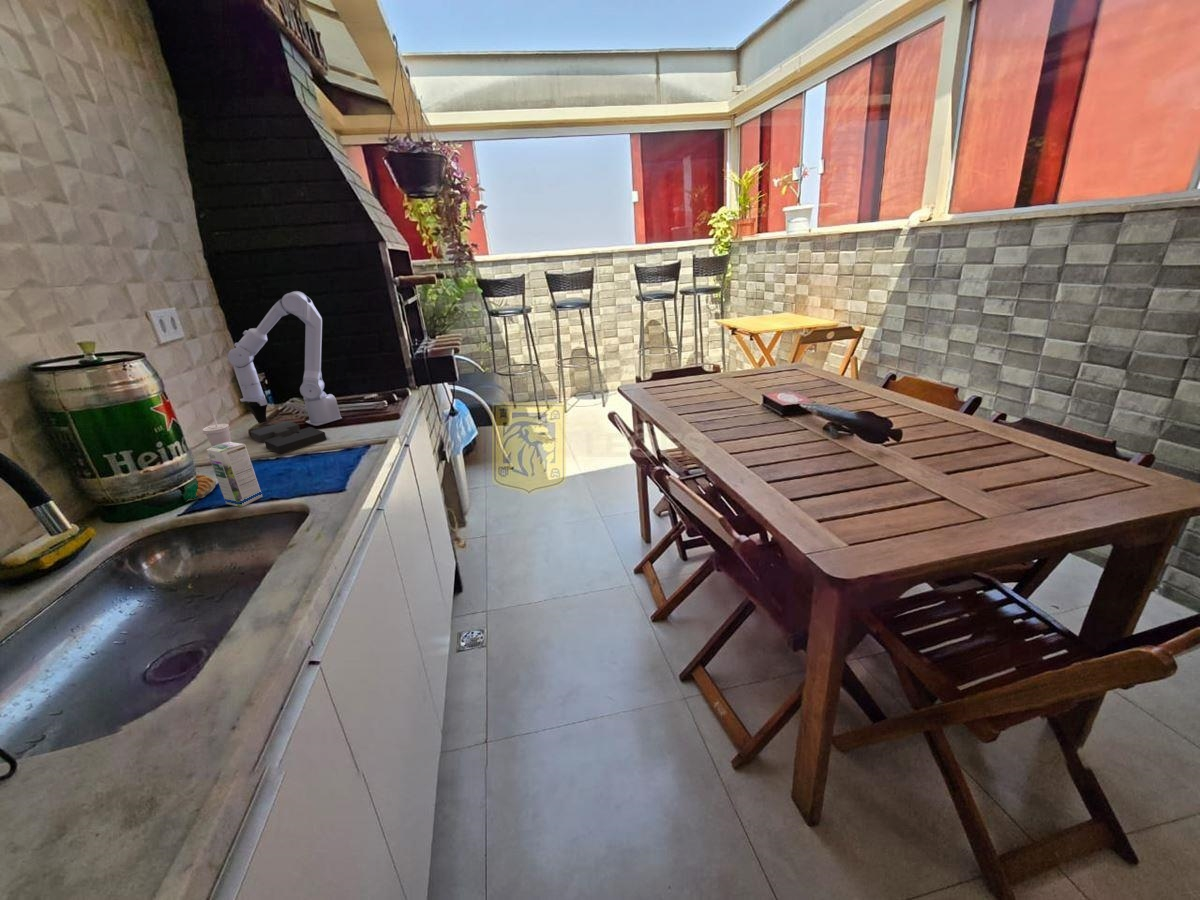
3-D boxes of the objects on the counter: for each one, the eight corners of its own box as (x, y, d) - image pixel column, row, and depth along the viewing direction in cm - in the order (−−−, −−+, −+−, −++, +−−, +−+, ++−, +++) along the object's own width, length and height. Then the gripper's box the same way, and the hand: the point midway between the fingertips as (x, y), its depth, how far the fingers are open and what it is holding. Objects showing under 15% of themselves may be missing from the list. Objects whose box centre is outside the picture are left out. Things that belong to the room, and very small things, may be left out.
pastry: (209, 499, 121) (204, 485, 119) (176, 506, 118) (170, 492, 117) (218, 484, 129) (213, 471, 127) (187, 490, 126) (181, 477, 125)
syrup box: (225, 504, 118) (203, 449, 112) (249, 493, 123) (229, 440, 117) (240, 508, 116) (219, 452, 110) (264, 496, 121) (245, 442, 115)
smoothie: (229, 461, 143) (212, 416, 137) (208, 462, 143) (190, 417, 138) (244, 452, 149) (229, 409, 143) (224, 453, 149) (207, 409, 144)
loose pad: (290, 427, 169) (288, 420, 168) (304, 432, 163) (302, 425, 162) (251, 438, 161) (249, 431, 160) (265, 444, 155) (263, 437, 154)
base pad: (312, 433, 162) (310, 426, 161) (326, 439, 157) (324, 432, 156) (266, 447, 152) (263, 440, 151) (280, 454, 146) (277, 446, 146)
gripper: (227, 383, 163) (241, 422, 168) (244, 389, 155) (258, 429, 160) (251, 379, 168) (263, 416, 173) (268, 384, 160) (281, 423, 165)
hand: (262, 422), depth 167 cm, fingers closed
